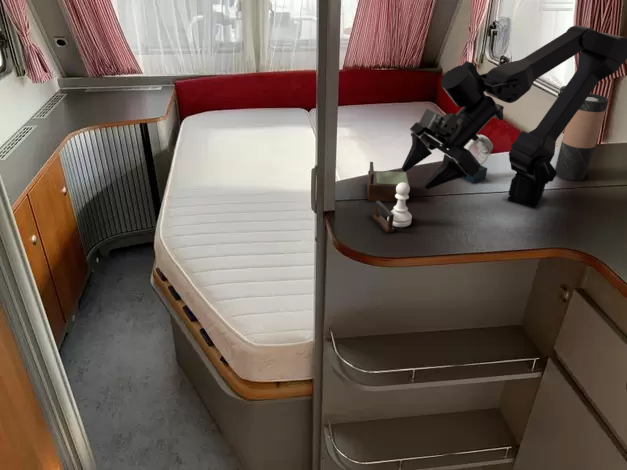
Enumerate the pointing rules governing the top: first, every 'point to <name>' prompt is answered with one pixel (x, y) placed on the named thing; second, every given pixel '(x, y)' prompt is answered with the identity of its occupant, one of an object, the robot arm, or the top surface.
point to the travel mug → (581, 138)
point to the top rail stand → (384, 184)
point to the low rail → (380, 220)
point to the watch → (480, 157)
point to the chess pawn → (401, 206)
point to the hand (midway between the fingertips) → (413, 178)
